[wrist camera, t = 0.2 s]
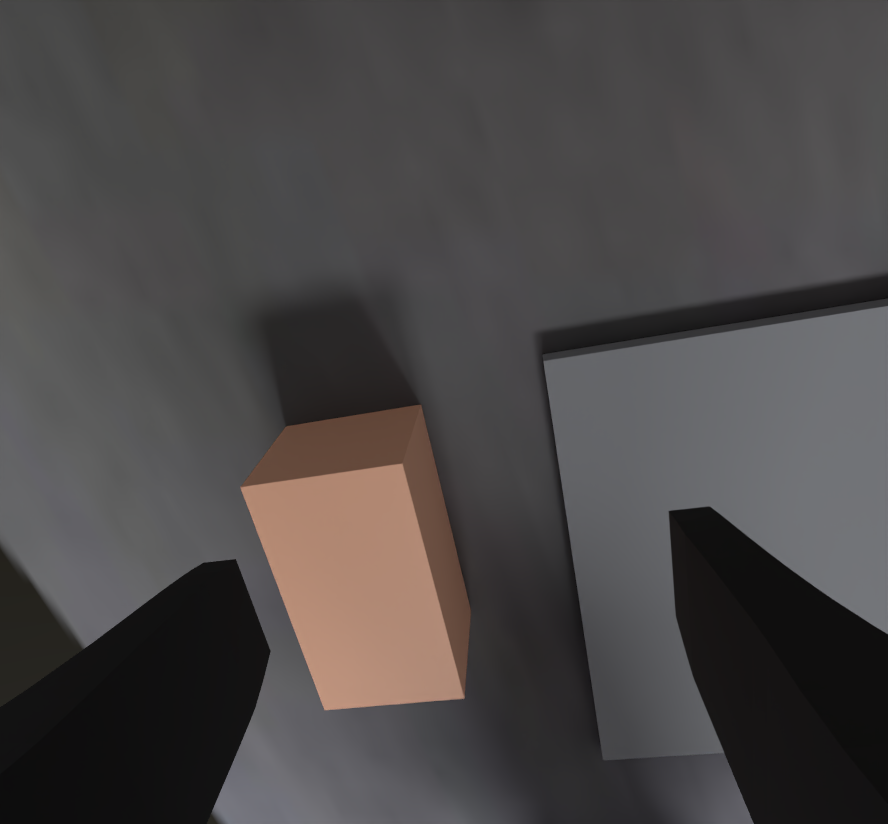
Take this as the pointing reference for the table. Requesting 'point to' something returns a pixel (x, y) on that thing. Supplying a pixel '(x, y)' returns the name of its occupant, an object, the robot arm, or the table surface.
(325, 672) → the light orange rectangular block
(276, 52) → the table surface
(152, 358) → the table surface
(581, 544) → the mat
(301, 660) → the table surface
